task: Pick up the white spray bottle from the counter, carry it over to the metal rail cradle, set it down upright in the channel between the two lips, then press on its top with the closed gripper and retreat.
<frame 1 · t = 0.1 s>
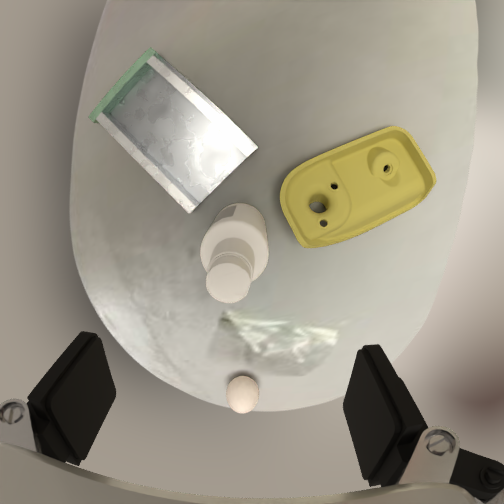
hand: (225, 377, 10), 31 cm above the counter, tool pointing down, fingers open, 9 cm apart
plastic component: (351, 184, 38), on the counter
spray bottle: (239, 227, 40), on the counter
egg: (243, 379, 48), on the counter
rail cradle: (176, 132, 36), on the counter
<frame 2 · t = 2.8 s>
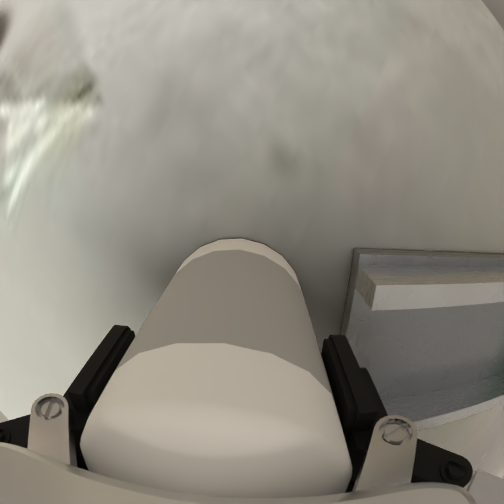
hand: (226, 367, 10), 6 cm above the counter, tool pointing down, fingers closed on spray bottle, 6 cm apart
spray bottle: (236, 297, 16), on the counter, touching gripper
rail cradle: (455, 335, 17), on the counter
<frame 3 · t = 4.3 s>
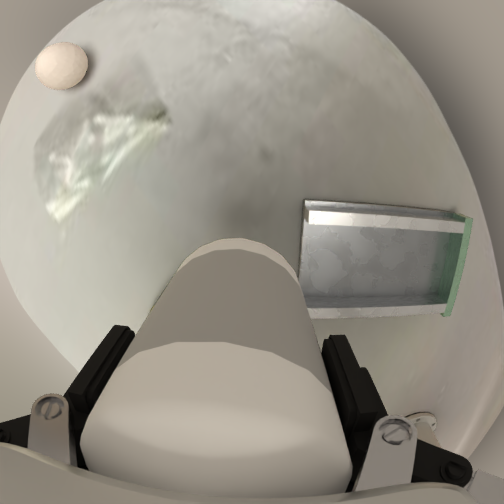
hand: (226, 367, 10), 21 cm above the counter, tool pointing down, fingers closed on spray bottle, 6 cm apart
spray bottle: (236, 296, 16), point 15 cm above the counter, touching gripper
egg: (79, 72, 25), on the counter
rail cradle: (378, 258, 32), on the counter
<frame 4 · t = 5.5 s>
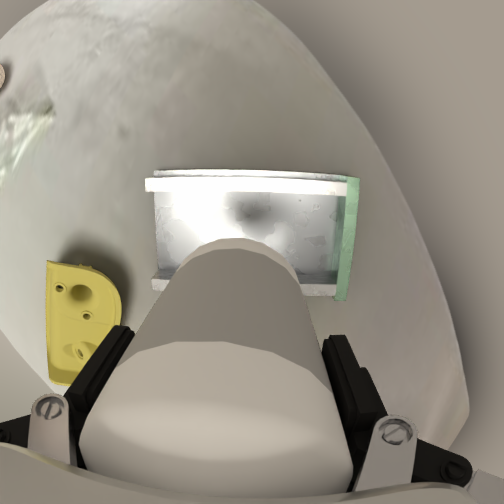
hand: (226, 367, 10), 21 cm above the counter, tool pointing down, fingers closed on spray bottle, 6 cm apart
plastic component: (88, 314, 34), on the counter
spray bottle: (236, 296, 16), point 15 cm above the counter, touching gripper
egg: (2, 81, 24), on the counter
rail cradle: (245, 229, 30), on the counter
when the fingers open (8 cm above the counter, at t = 8.4 s): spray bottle stays where it is, resting on rail cradle.
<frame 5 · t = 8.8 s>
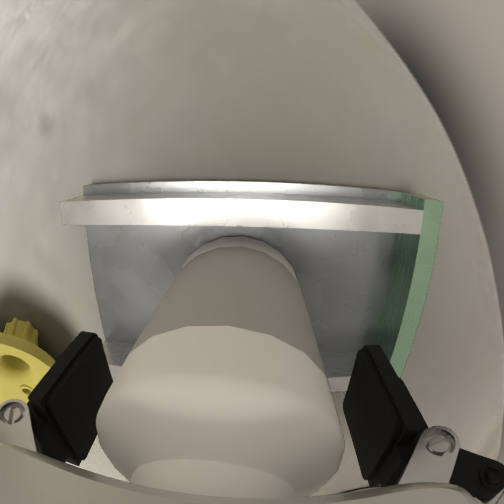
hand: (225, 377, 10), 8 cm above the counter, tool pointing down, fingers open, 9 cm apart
plastic component: (37, 375, 22), on the counter
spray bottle: (237, 291, 17), point 1 cm above the counter, touching rail cradle
rail cradle: (238, 283, 18), on the counter
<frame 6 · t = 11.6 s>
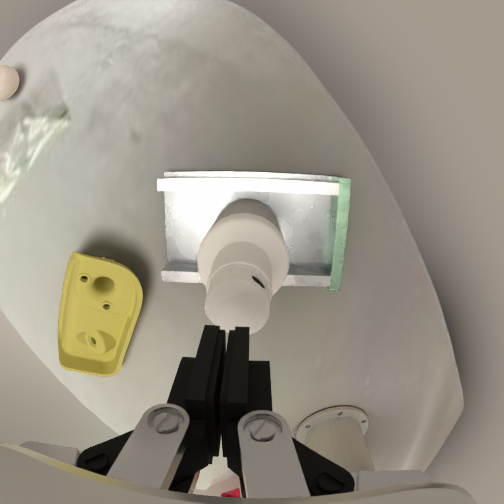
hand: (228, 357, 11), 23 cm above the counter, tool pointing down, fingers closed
plastic component: (104, 304, 37), on the counter
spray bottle: (247, 229, 33), point 1 cm above the counter, touching rail cradle
egg: (16, 85, 28), on the counter
rail cradle: (247, 226, 33), on the counter
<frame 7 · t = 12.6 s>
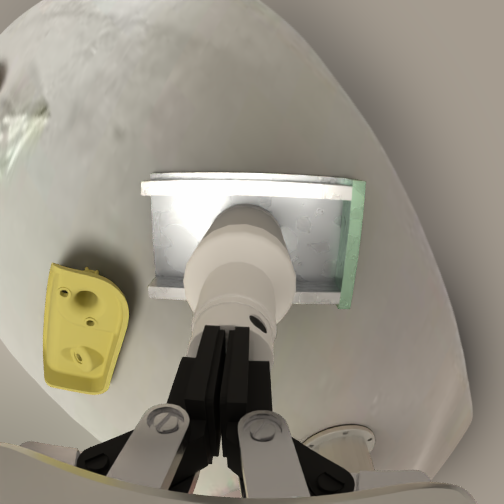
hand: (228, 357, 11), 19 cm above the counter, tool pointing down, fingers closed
plastic component: (90, 318, 33), on the counter
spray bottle: (245, 238, 29), point 1 cm above the counter, touching gripper, rail cradle
rail cradle: (245, 235, 29), on the counter
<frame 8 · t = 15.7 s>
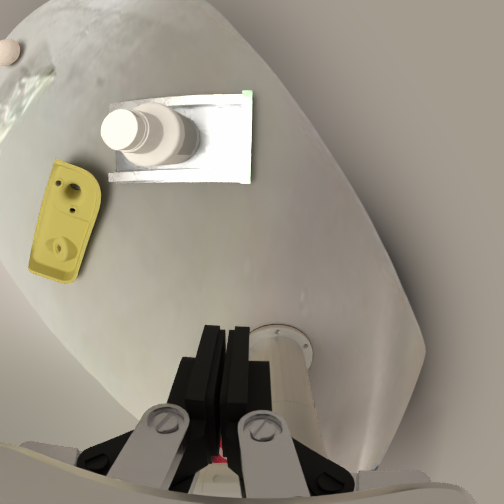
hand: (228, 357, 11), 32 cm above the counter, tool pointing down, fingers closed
plastic component: (73, 217, 43), on the counter
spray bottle: (175, 139, 38), point 1 cm above the counter, touching rail cradle
egg: (17, 55, 33), on the counter
rail cradle: (177, 138, 39), on the counter
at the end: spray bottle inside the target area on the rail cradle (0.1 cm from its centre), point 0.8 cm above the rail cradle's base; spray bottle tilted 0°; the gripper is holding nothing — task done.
